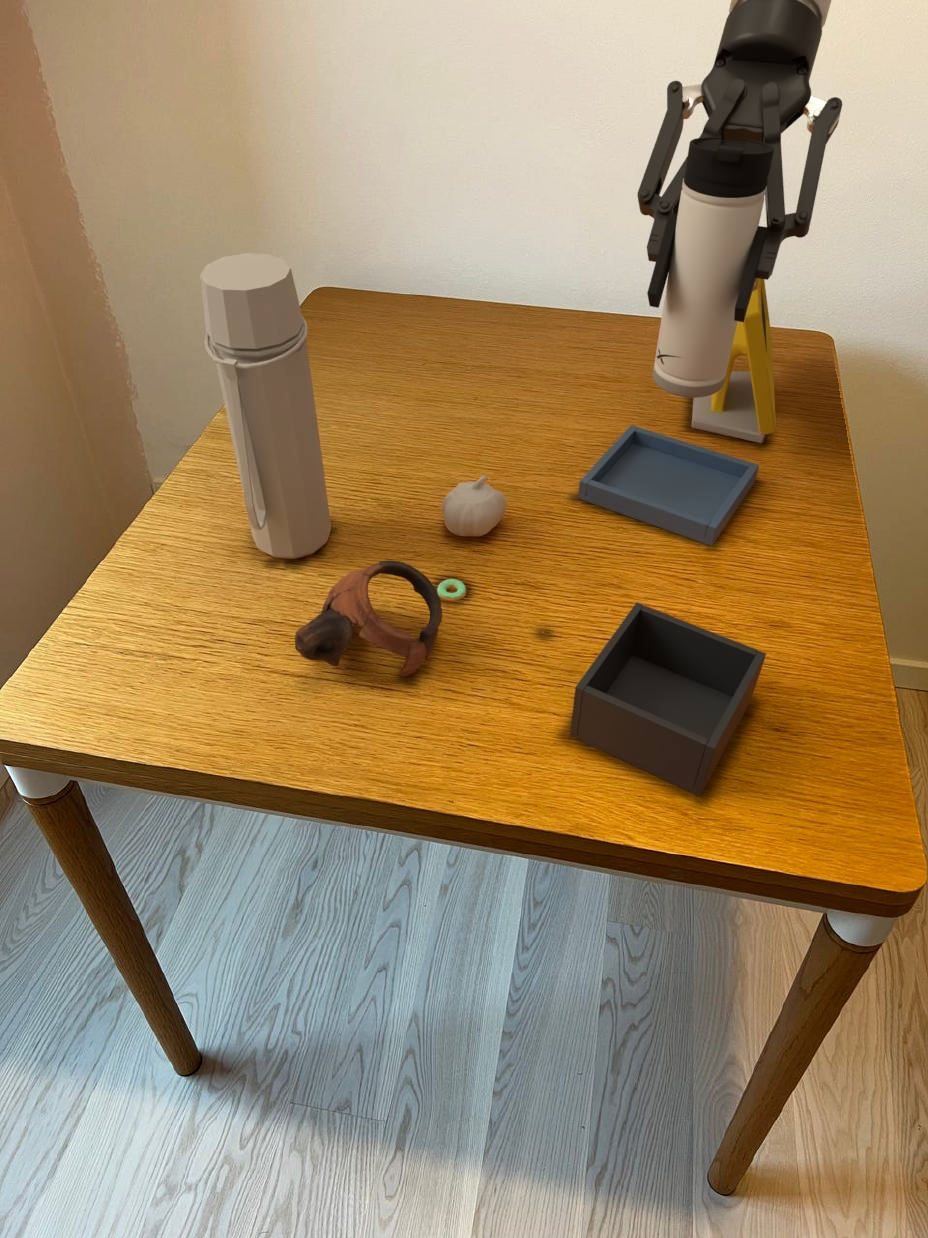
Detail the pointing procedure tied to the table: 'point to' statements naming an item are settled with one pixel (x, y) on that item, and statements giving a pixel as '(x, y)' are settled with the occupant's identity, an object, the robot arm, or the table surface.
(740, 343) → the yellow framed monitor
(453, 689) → the table surface
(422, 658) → the animal head ring
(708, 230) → the travel mug
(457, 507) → the garlic
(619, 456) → the tray
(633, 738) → the dark grey open box
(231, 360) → the water bottle
